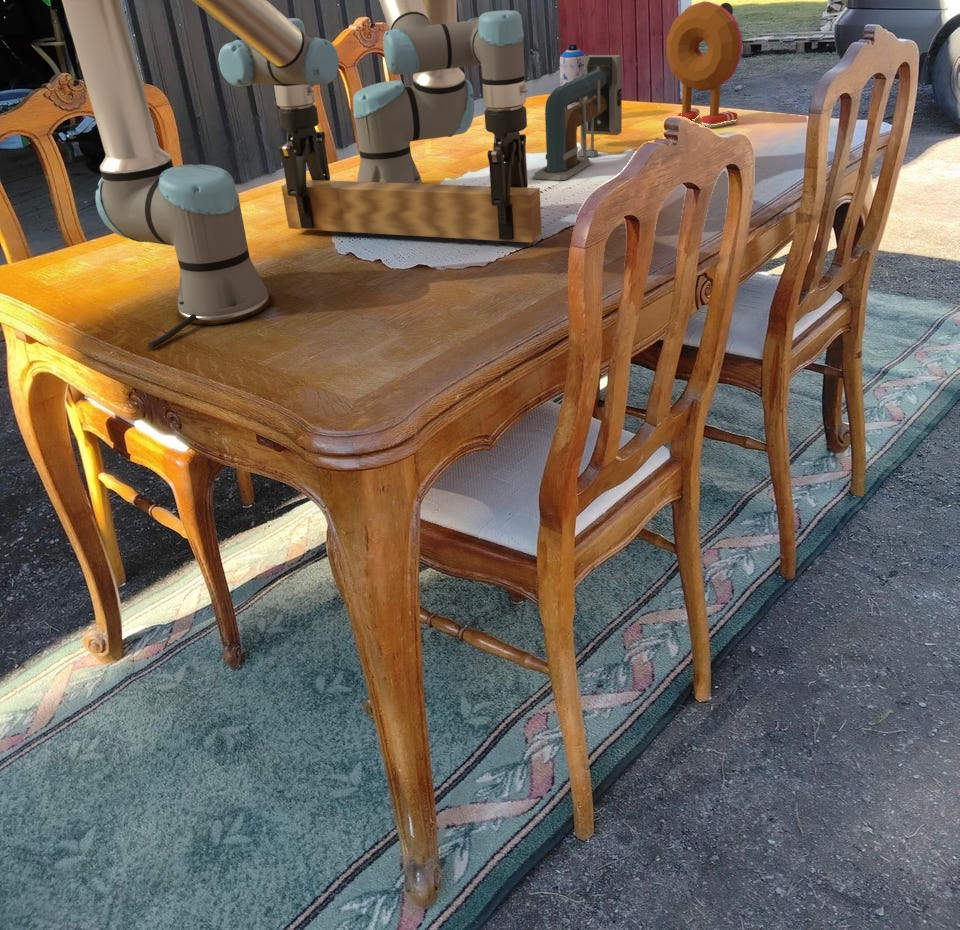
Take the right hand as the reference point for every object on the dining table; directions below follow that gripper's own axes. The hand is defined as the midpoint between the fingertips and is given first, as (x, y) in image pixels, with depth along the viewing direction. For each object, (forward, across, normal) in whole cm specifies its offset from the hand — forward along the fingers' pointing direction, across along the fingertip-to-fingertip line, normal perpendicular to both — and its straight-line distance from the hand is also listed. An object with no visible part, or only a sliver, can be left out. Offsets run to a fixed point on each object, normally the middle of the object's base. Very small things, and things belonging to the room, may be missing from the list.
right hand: (512, 233), depth 184 cm
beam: (+1, 0, +22) cm, 22 cm away
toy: (+2, +104, -15) cm, 106 cm away
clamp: (+2, +62, +7) cm, 62 cm away
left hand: (0, 0, +44) cm, 44 cm away
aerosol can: (+3, +108, +22) cm, 111 cm away
